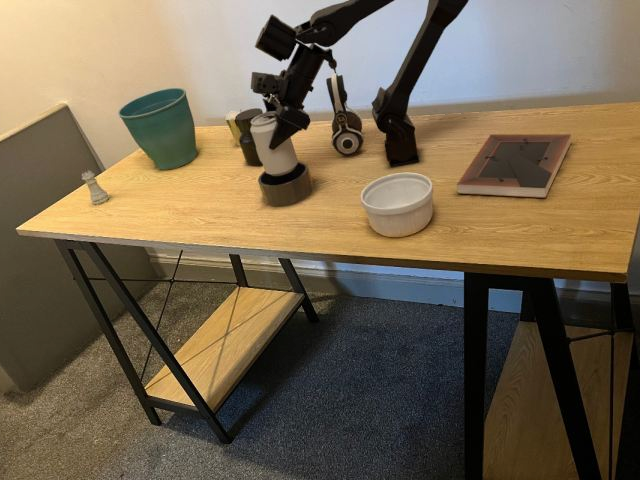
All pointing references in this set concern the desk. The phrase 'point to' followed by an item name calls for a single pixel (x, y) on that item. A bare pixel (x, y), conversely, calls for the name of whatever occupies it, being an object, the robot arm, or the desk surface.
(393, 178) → the ramekin
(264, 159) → the can
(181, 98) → the flower pot
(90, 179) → the rook chess piece
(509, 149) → the picture frame
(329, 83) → the headset
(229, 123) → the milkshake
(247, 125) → the ink bottle
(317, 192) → the desk surface
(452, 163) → the desk surface
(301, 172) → the bowl
